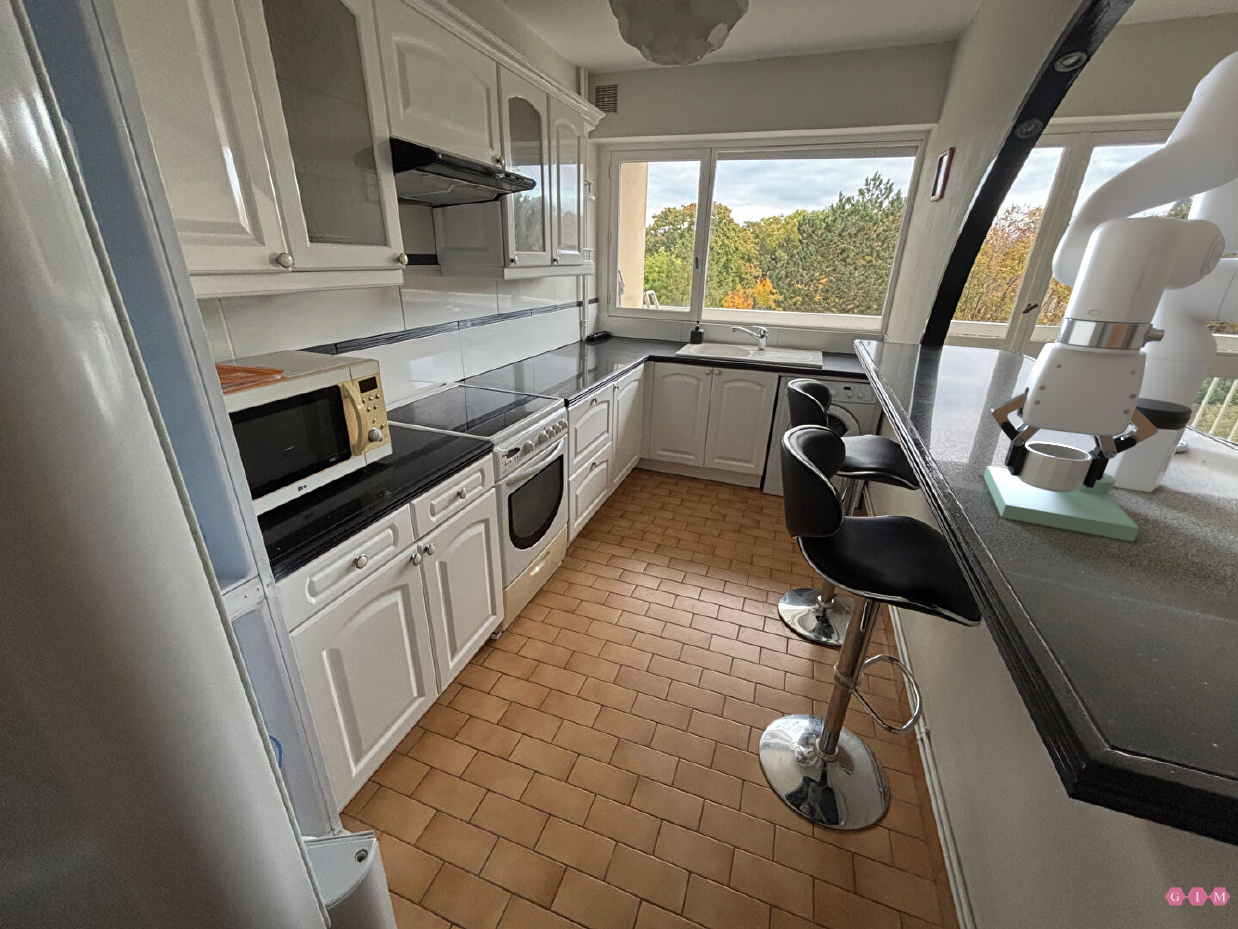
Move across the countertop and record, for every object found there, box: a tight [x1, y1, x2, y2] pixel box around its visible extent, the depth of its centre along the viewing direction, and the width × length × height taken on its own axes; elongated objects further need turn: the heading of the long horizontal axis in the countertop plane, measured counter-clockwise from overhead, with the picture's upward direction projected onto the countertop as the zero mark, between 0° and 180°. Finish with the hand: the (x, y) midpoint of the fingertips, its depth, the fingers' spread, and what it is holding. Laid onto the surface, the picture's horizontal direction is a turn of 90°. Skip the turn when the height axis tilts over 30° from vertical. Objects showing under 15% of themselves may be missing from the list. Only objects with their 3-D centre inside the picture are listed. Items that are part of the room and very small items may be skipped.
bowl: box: [1017, 441, 1094, 492], centre depth 64 cm, size 7×7×4 cm
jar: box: [1091, 398, 1193, 493], centre depth 75 cm, size 9×8×12 cm
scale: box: [983, 465, 1141, 543], centre depth 68 cm, size 16×14×4 cm
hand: (1048, 476), depth 65 cm, fingers closed on bowl, 6 cm apart
